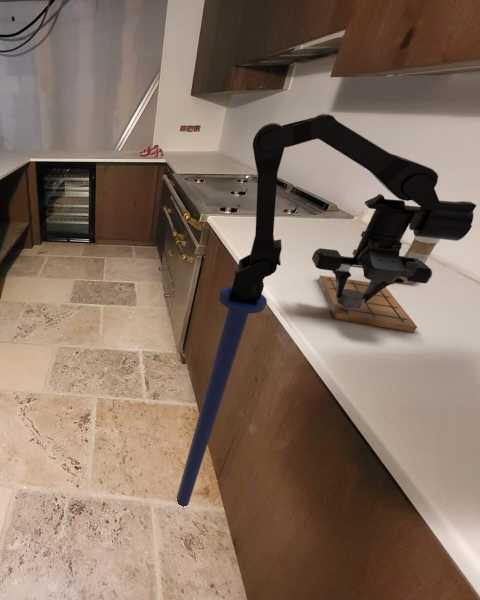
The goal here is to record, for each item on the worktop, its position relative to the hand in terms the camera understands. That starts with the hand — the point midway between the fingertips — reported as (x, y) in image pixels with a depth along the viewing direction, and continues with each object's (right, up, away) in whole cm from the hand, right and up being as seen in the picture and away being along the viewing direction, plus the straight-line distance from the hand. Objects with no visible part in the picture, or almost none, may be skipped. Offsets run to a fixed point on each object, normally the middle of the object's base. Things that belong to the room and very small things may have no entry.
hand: (350, 299), depth 72 cm
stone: (0, -1, +1) cm, 1 cm away
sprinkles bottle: (+28, +5, +16) cm, 32 cm away
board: (+8, -1, +6) cm, 10 cm away
